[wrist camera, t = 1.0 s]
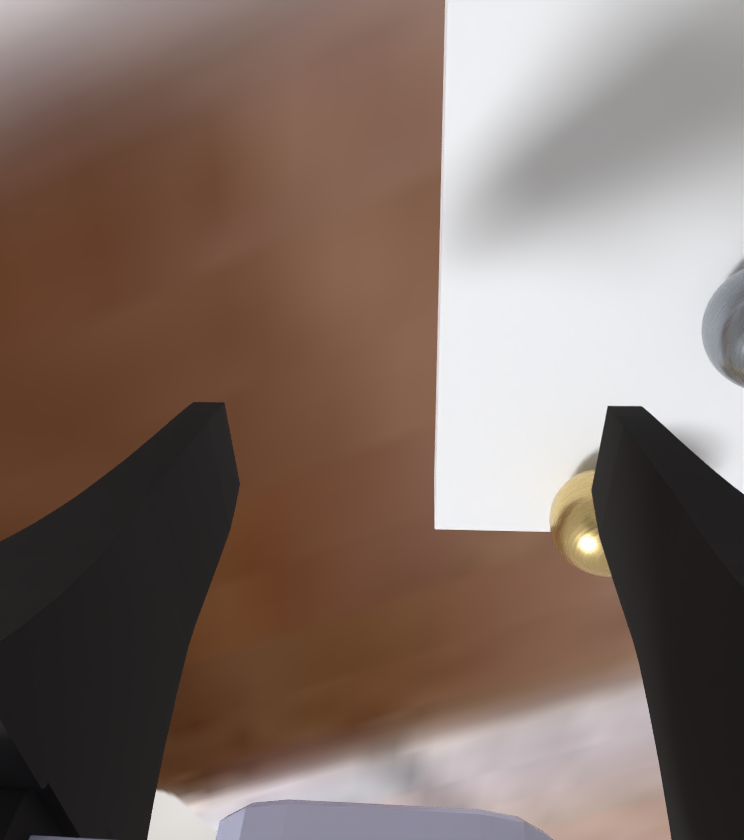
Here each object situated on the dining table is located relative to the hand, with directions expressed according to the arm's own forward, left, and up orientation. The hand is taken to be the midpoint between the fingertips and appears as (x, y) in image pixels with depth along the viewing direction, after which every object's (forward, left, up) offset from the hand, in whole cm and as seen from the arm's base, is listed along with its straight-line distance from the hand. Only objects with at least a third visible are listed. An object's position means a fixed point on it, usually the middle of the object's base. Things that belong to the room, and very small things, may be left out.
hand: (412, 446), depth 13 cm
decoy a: (-6, +7, -5) cm, 10 cm away
